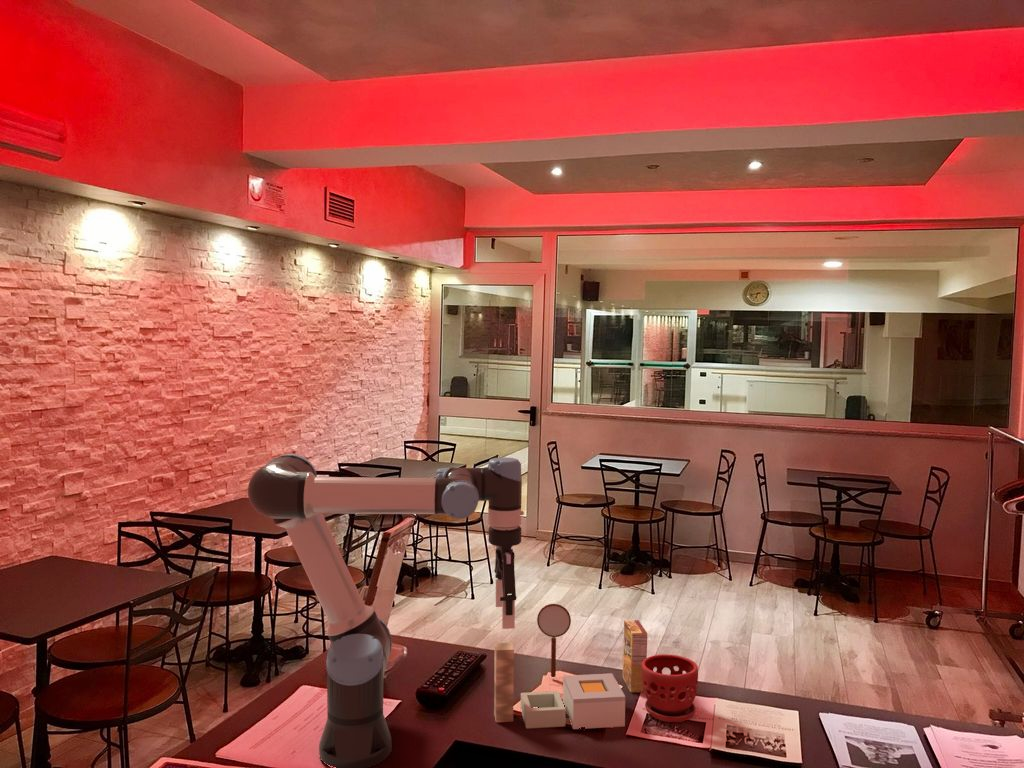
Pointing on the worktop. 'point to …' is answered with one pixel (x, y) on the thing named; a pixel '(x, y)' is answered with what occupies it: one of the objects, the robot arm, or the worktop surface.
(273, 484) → the robot arm
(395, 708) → the worktop surface
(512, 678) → the wooden square peg
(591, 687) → the button
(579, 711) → the white box with opening
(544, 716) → the cream square open box
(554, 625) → the magnifying glass
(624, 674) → the candy box
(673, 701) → the plant pot
